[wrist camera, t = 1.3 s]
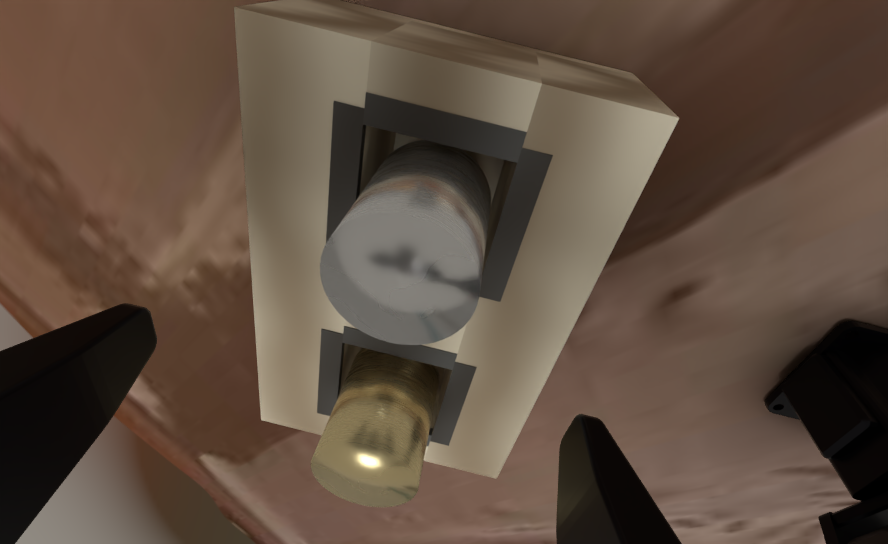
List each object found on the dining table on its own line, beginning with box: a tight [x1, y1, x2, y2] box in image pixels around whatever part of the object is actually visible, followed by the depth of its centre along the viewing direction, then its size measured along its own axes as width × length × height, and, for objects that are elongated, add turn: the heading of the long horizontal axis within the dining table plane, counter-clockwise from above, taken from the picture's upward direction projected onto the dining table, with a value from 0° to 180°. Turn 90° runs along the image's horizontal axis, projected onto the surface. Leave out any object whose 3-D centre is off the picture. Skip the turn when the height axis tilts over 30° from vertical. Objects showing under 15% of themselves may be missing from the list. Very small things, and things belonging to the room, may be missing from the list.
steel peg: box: [320, 140, 491, 345], centre depth 13 cm, size 4×4×5 cm
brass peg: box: [311, 348, 439, 507], centre depth 18 cm, size 4×4×5 cm
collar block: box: [234, 0, 679, 479], centre depth 19 cm, size 12×18×6 cm, turn 169°
